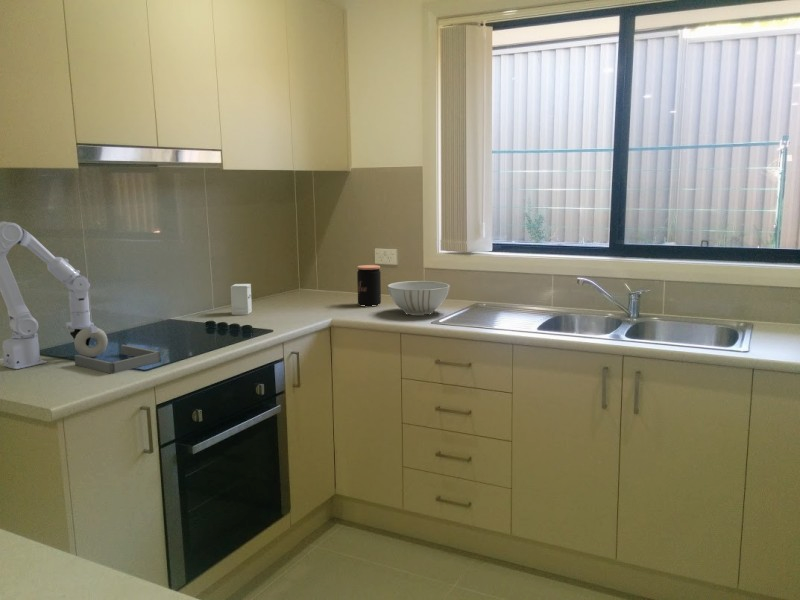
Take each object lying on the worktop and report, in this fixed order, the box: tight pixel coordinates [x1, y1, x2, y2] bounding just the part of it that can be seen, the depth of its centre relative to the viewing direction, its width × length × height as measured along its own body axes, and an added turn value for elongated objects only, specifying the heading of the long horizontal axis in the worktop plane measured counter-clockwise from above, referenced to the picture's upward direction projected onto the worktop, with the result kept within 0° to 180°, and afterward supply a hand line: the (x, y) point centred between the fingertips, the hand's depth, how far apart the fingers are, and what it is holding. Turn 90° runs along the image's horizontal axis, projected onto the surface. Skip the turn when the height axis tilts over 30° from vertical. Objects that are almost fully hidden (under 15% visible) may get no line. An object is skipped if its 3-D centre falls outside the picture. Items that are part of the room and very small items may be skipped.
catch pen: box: [73, 344, 162, 374], centre depth 208 cm, size 17×19×3 cm
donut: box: [73, 327, 109, 358], centre depth 215 cm, size 10×4×10 cm, turn 125°
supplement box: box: [230, 283, 253, 316], centre depth 289 cm, size 7×7×13 cm
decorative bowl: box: [387, 280, 451, 316], centre depth 288 cm, size 27×27×12 cm
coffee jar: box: [356, 264, 382, 306], centre depth 308 cm, size 11×11×18 cm
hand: (83, 352), depth 218 cm, fingers closed
